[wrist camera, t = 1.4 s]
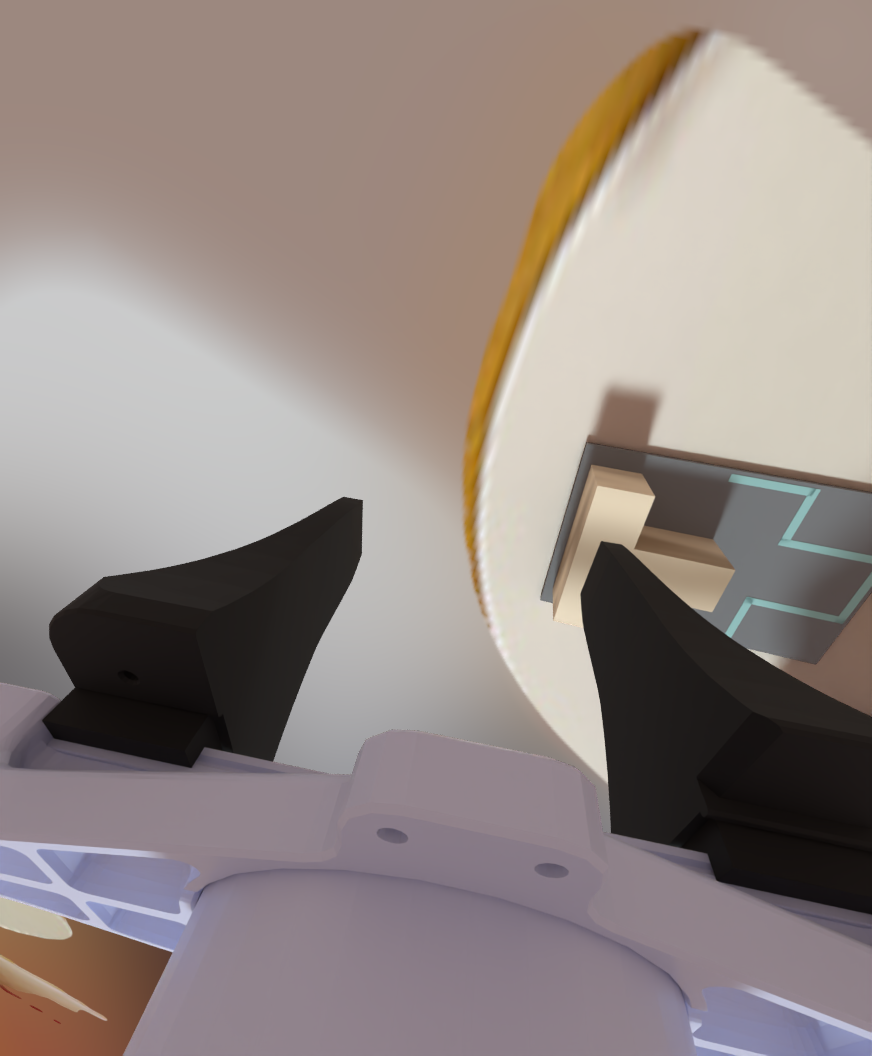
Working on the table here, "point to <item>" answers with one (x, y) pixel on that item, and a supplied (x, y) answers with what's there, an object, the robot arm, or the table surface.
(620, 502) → the t block
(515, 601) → the table surface
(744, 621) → the mat
